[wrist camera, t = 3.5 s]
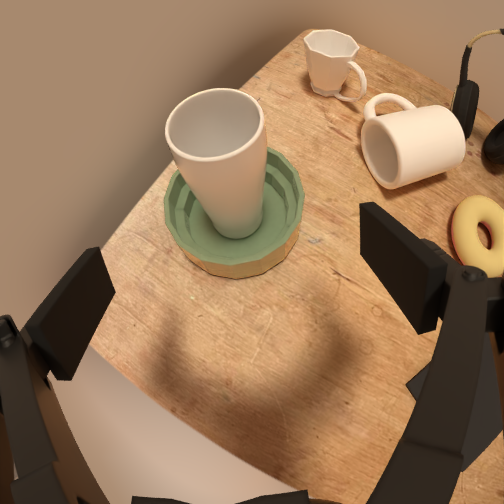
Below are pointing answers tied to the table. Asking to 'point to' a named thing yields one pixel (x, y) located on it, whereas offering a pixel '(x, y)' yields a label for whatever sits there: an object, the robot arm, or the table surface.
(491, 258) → the donut
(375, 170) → the mug
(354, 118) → the table surface
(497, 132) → the headphones
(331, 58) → the cup
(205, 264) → the bowl
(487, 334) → the mat
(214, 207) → the drinking glass
